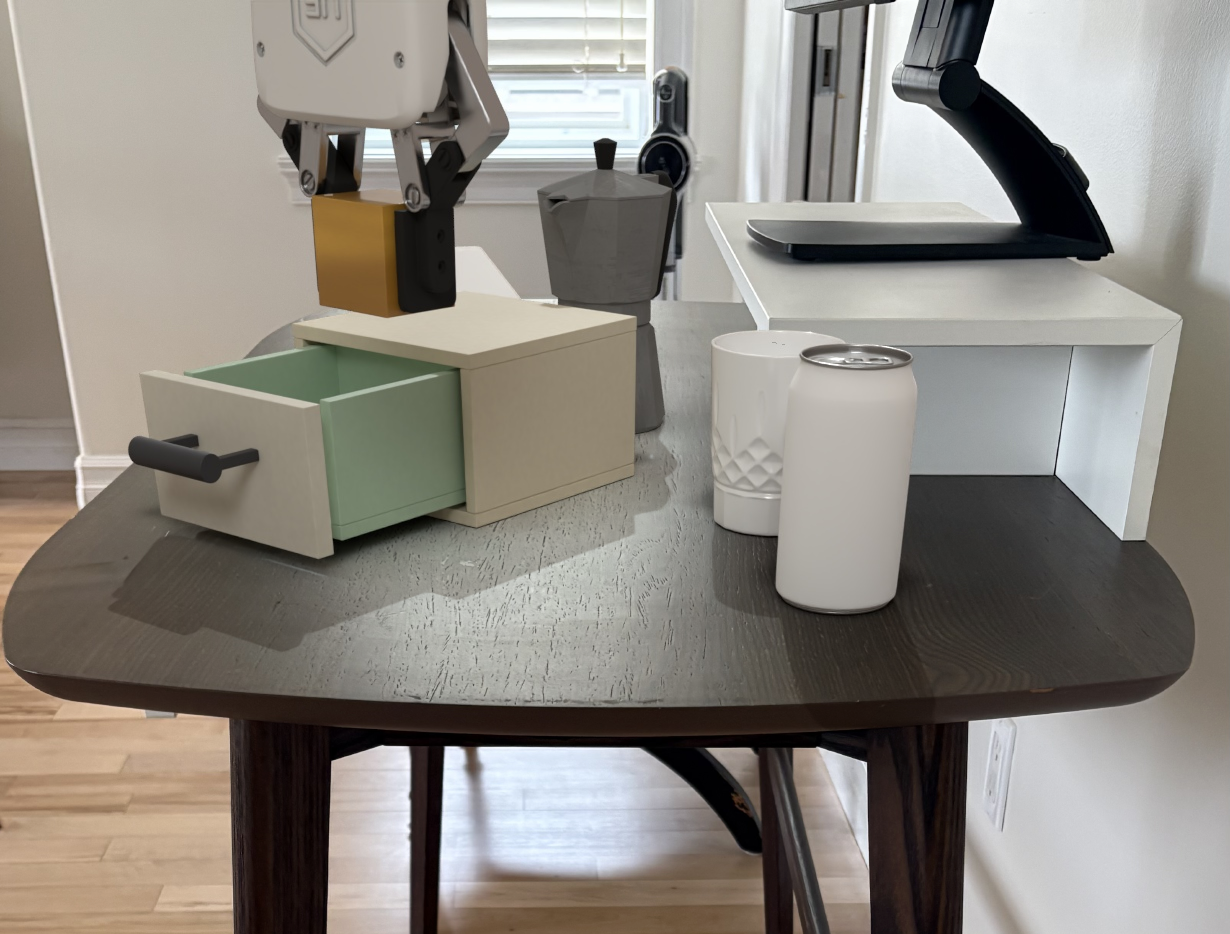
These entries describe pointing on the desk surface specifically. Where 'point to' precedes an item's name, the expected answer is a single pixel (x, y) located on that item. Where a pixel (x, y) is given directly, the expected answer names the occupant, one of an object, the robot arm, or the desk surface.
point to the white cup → (752, 423)
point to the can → (845, 478)
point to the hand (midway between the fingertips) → (386, 296)
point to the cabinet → (517, 393)
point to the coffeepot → (613, 255)
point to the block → (358, 251)
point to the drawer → (304, 444)
